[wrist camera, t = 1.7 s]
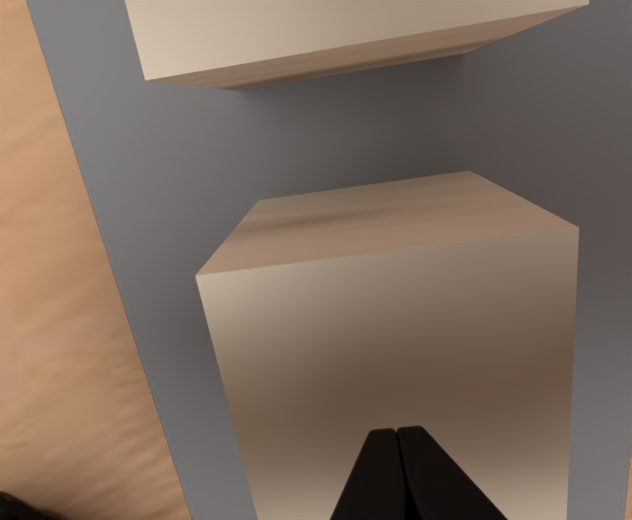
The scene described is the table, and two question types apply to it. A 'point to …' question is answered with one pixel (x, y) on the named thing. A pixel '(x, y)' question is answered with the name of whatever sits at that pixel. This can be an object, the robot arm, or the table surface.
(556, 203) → the grey mat
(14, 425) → the table surface
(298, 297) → the plain block
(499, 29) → the two-pip block
